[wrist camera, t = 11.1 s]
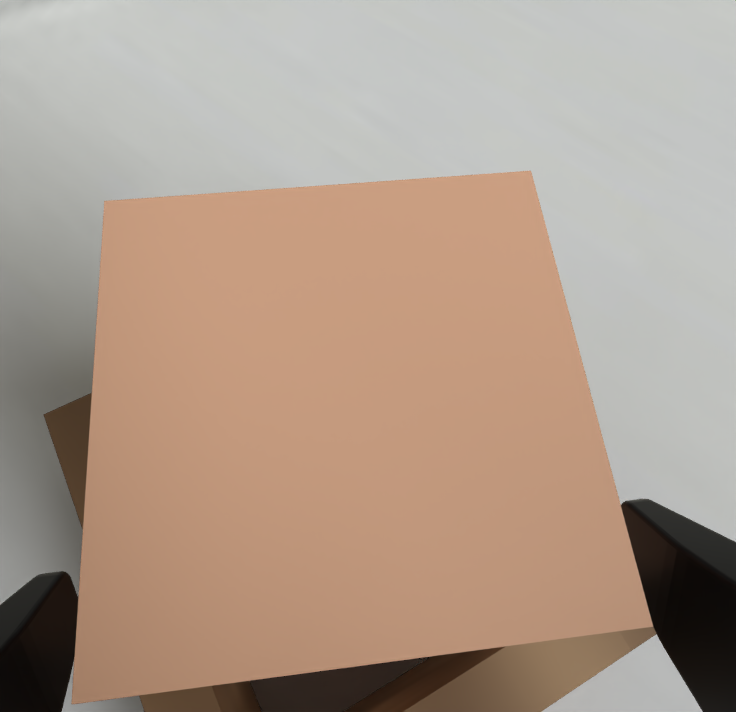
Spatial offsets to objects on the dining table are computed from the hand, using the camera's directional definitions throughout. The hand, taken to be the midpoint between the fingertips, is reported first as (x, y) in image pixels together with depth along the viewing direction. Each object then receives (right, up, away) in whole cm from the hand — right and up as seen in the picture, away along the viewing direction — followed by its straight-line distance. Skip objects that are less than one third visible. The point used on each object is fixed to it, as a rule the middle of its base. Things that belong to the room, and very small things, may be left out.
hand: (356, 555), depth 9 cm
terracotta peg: (0, -2, +9) cm, 9 cm away
